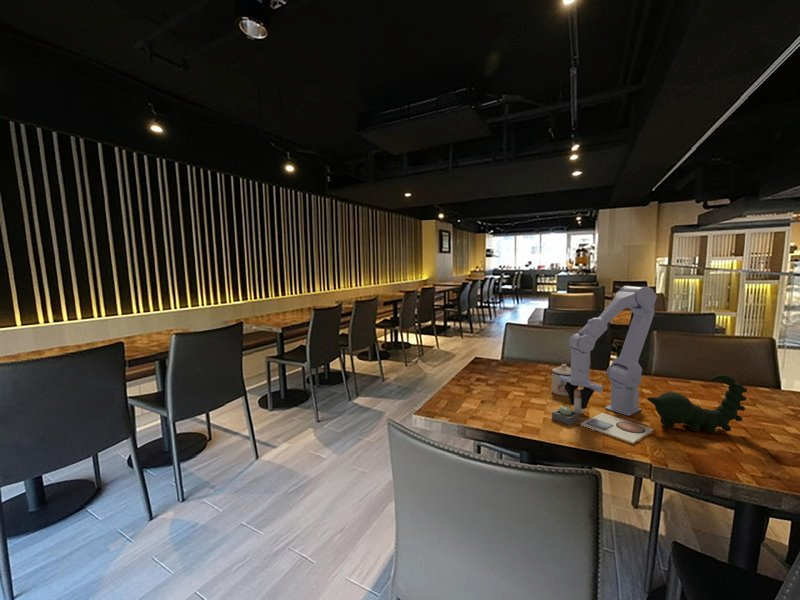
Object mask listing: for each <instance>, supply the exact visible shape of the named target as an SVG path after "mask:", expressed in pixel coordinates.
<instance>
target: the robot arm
mask: <svg viewBox="0 0 800 600" xmlns="http://www.w3.org/2000/svg"><path fill="white" fill-rule="evenodd" d="M657 299H658V296H657V294H656V292H655V291H654V290H653V288H651V287H650V286H631V285H624V286H622V287H621V288H620V289H619V290H618V291H617V292H616V293H615V296H614V298H613V300H612V301H610V303H609V304H608V305H607V306H606V307H605V309H604V310H603V311H602V312H601V314H600V315H599V316H598V317H592V318H589V319H588V320H587V323H586V324H585V325H584V326H583V327H582V328H581V329H579V331H578V333H574V334H572V335H571V336H569V340H568V341H567V345H568V346H569V349H570V353H571V354H570V355H571V357H570V369H571V377H567V376H562V375H561V376H559V377H558V381H559V382H565V383H566V385H565V386H564V387H565V389H566V391H567V393H568V395H569V396H568V398H569V401H570V405H571V406H574V389H575V388H580V387H581V388H580V389H581V390H580V392H581V397H582V405H581V406H582V409H584V410H585V409H587V407H588V405H589V401H590V400H591V397H592V396H593V394H594V393H595V392H597V393H602V392H603V389H604V388H603V386H604V385H601V384H597V383H595V382H593V381H590V363H591V361H590V359H591V358H590V357H591V351H593V350H594V348H595V345H596V342H597V340H598V339H599V338H600V337H601V336H602V335H603V334H605V332H606V331H607V330H608V324H609V323H610V322H611V321H612V320H613V319H614V318H616V316H618V315H619V314H620V313H621V312H622V311H623V310H625V309H630V311H631V312H632V315H633V316H632V319H631V322H630V325H629V328H628V331H627V334H626V336H625V339H624V343H623V345H622V348H621V351H620V354H619V356H617V357H615V358H613V359H612V362H611V364H610V365H608V368H607V369H606V375H607V378H609V380H610V381H609V383H610V401H609V403H610V404H609V405H607V406H605V407H604V409H605V410H608V411H612V412H616V413H619V414H622V415H624V416H625V415H626V416H628V417H630V416H632V415H634V414H636V413H638V412H639V411H641V410H642V408H641V407H639V399H640V390H639V389H638V387H639V386H640V384H641V383H642V372H643V368H642V367H641V365H640V362H639V360H640V356H641V353H642V351H643V348H644V345H645V341H646V339H647V336H648V333H649V330H650V327H651V324H652V322H653V320H654V319H653V318H654V316H655V304H656V301H657Z"/></svg>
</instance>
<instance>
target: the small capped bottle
mask: <svg viewBox="0 0 800 600" xmlns="http://www.w3.org/2000/svg"><path fill="white" fill-rule="evenodd" d="M581 389H582V388H580V387H578V388H575V389H574V405H573V412H576V413H579V415H581V414H584V412H585V409H582V406H581V405H582V397H581V392H580V390H581Z"/></svg>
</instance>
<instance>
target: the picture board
mask: <svg viewBox="0 0 800 600" xmlns="http://www.w3.org/2000/svg"><path fill="white" fill-rule="evenodd" d="M579 426H580V427H583V426H584V428H585V427H587V428H586V429H588V428H590V429H589V430H591V429H592V430H591V431H594V430H596V431H599V432H601V433H600V434H602V433H605V434H608V435H610V436H613V437H616V438H619V439H622V440H625V441H627V442H630V443H634V442H636V441H638V440H639V439H641V438H642V437H644V436H646V435H647V434H649V433H650V432H652V431H653V432H654V429H653V428H651V427H649V426H648V427H647V426H645V425H642V424H638V423H636V422H632V421H630V420H626V419H624V418H619V417H617V416H613V415H611V414H607V413H604V412H600V413H599V414H597V415H594V416H592V417H591V418H588V419H586V420H584V421H581V422H580V425H579ZM596 431H595V432H596ZM599 432H598V433H599ZM653 432H652V433H653ZM650 434H651V433H650ZM650 434H649V435H650ZM610 436H609V437H610ZM647 436H648V435H647ZM647 436H646V437H647ZM644 438H645V437H644ZM641 440H642V439H641ZM638 442H639V441H638Z"/></svg>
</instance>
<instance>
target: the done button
mask: <svg viewBox="0 0 800 600" xmlns="http://www.w3.org/2000/svg"><path fill="white" fill-rule="evenodd" d="M559 409H560V414H562V415H565V416H568V417H569V416H571V415H572V411H573V410H572V408H571V407H569V406H565V405H564V406H563V405H562V406H560V407H559Z"/></svg>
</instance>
